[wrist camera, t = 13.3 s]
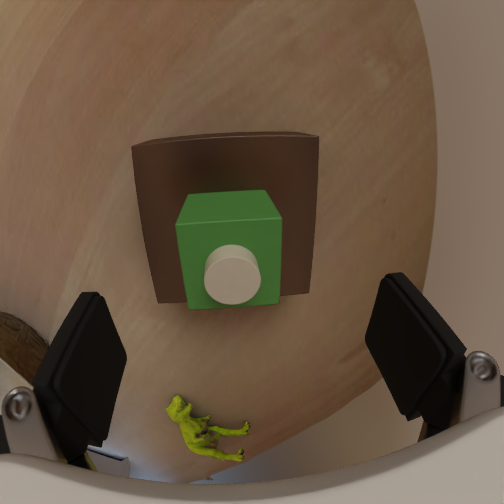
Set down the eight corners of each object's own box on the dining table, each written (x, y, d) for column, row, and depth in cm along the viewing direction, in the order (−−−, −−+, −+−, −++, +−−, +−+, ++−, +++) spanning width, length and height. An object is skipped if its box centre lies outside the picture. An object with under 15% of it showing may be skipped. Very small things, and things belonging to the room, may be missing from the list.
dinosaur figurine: (271, 438, 40) (276, 468, 35) (219, 450, 41) (221, 479, 36) (211, 384, 31) (211, 426, 26) (147, 400, 32) (141, 438, 27)
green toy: (265, 189, 16) (288, 228, 11) (265, 258, 18) (284, 319, 13) (187, 193, 16) (169, 235, 11) (195, 262, 18) (186, 326, 13)
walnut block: (297, 131, 20) (319, 136, 15) (293, 261, 25) (309, 293, 20) (151, 139, 19) (130, 146, 14) (168, 269, 24) (157, 303, 19)
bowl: (-19, 356, 28) (-41, 395, 19) (-45, 240, 19) (-91, 280, 10) (91, 414, 34) (79, 464, 25) (98, 316, 25) (66, 391, 16)
